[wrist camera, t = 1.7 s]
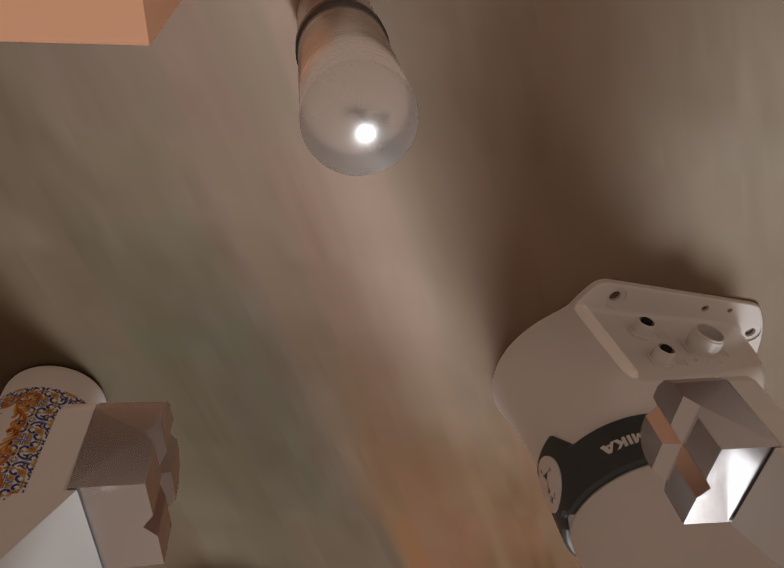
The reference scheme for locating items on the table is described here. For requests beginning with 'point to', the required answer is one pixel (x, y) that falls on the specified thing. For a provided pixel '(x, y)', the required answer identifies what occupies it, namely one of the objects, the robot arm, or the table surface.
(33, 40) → the collar frame
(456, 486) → the table surface
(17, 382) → the bath foam
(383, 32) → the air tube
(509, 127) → the table surface
